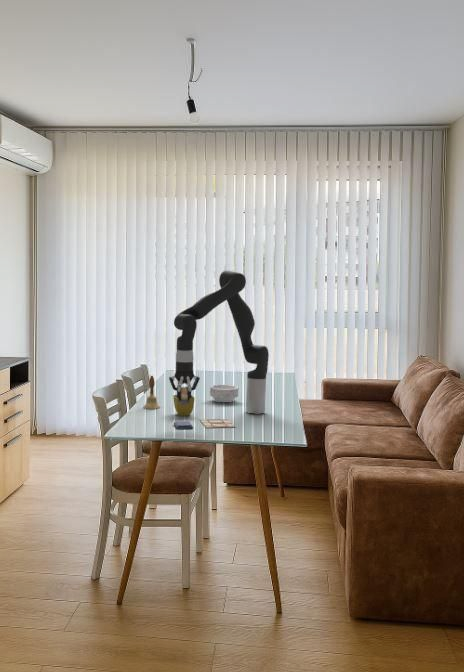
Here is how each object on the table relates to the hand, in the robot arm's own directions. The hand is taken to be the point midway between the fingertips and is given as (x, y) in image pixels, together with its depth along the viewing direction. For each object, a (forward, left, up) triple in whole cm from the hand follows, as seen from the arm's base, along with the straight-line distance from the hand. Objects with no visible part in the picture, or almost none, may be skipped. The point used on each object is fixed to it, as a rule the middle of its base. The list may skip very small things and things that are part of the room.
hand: (183, 399), depth 281 cm
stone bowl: (-58, +31, -12) cm, 67 cm away
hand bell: (-44, -9, -12) cm, 46 cm away
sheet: (-4, +16, -12) cm, 20 cm away
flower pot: (-25, +4, -12) cm, 28 cm away
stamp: (0, 0, -2) cm, 2 cm away
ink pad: (0, 0, -12) cm, 12 cm away
